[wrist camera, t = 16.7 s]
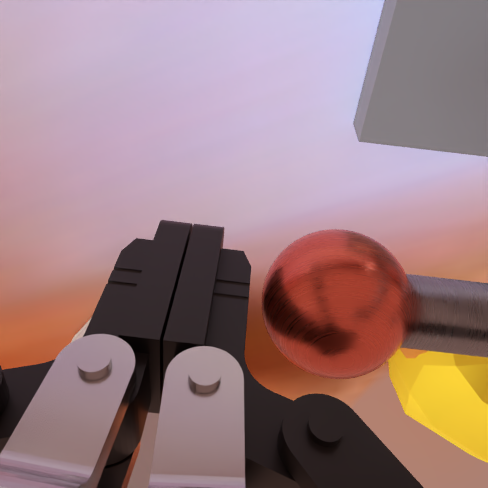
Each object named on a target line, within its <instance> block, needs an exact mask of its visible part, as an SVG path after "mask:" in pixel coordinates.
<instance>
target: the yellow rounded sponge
mask: <svg viewBox="0 0 488 488" xmlns="http://www.w3.org/2000/svg"><path fill="white" fill-rule="evenodd" d="M388 363H389V376H390V379H391V381H392V383H393V385H394V388H395V390H396V393H397V395H398V397H399V400H400V402H401V405H402V407H403V409H404V412H405V414H407V415H408V416H410V417H411V418H413V419H415V420H416V421H418V422H419V423H421V424H422V425H424V426H426V427H427V428H429V429H430V430H432V431H434V432H435V433H437V434H438V435H440V436H441V437H443V438H445V439H446V440H448V441H449V442H451V443H453V444H454V445H456V446H457V447H459V448H460V449H462V450H464V451H465V452H467V453H468V454H470V455H472V456H474V457H476V458H478V459H480V460H483V461H485V462H487V463H488V358H487V357H479V356H470V355H461V354H452V353H444V352H435V351H426V350H417V349H409V348H399V350H398V351H397V352H396V353H395V355H394V356H393V357H391V358H390V359H389V360H388Z"/></svg>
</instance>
